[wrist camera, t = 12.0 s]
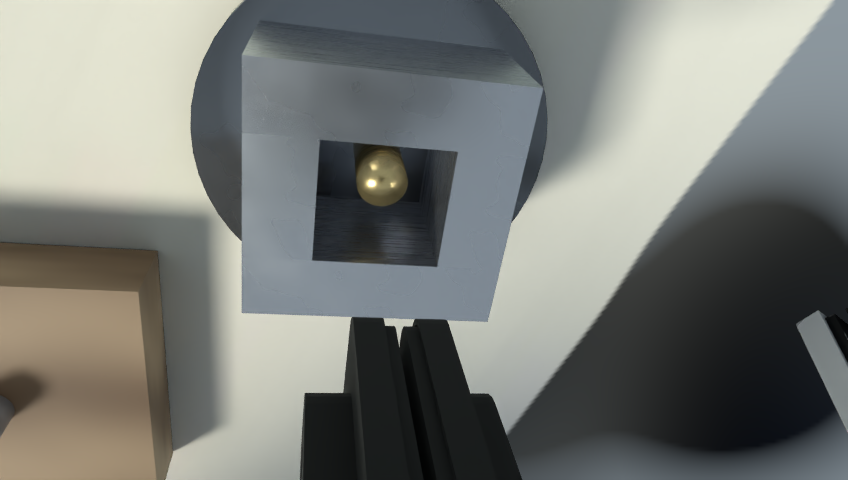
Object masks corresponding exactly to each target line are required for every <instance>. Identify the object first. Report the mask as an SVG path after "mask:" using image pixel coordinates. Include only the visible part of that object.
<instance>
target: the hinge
mask: <svg viewBox="0 0 848 480" xmlns="http://www.w3.org/2000/svg"><path fill="white" fill-rule="evenodd" d="M846 311H847V313H848V308H846ZM796 326H797V328H798V330H799V332H800V335H801V337H802V339H803V341H804V343H805V345H806V347H807V349H808V351H809V353H810V355H811V357H812V360H813V362H814V364H815V366H816V368H817V370H818V372H819V374H820V376H821V378H822V380H823V382H824V385H825V387H826V388H827V391H828V393H829V395H830V397H831V399H832V401H833V403H834V405H835V407H836V409H837V412H838V414H839V416H840V418H841V420H842V422H843V424H844V426H845V428H846V430H847V432H848V324H847V323H845V322H844V321H843V320H842V319H840V318H839V317H838V316H837V315H835V314H833V315H831V316H828V317H827V316H825V315H824V314H823V313H821V312H820V311H819V310H818V311H816V312H815V313H813V314H811V315H810V316H808V317H807V318H805V319H803V320H802V321H800V322H798V323H797V324H796Z"/></svg>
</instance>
